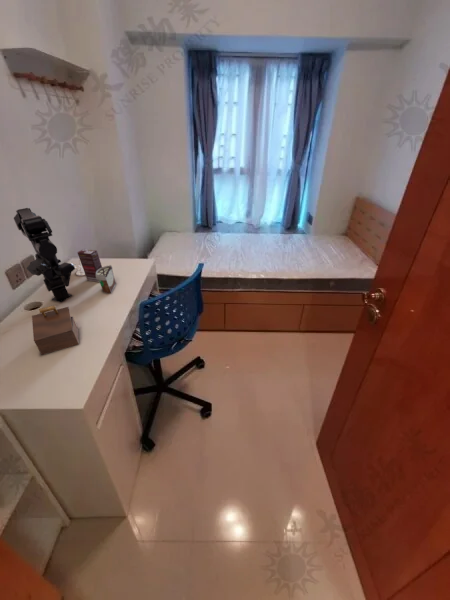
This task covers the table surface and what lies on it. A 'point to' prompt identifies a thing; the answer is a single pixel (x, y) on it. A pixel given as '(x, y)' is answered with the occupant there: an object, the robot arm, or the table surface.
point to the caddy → (59, 340)
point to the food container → (106, 278)
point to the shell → (80, 270)
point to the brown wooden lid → (51, 322)
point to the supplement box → (90, 263)
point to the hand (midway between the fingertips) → (59, 284)
